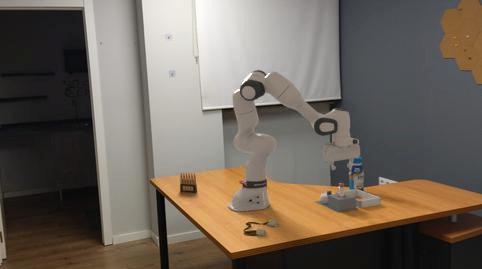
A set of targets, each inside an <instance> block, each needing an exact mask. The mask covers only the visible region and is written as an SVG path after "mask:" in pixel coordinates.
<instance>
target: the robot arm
mask: <svg viewBox="0 0 482 269" xmlns="http://www.w3.org/2000/svg"><path fill="white" fill-rule="evenodd" d="M265 94H269V95H271V96H272V97H273V98H274V99H275V100H276V101H277V102H279V103H280V104H282V105H283V106H285V107H286V108H289V109H293V110H294V111H297V112H298V113H299V114H300V115H301V116H302V117H304V118H305V120H307V121H308V122H309V124H310V127H311V129H312V130H313V131H314V132H315V134H317V135H319V136H322V137H323V136H324V137H325V136H330V135H331V142H326V143H325V144H324V145H322V161H323V162H325V163H329V165H330V167H331V170H332V171H335V170H337V167H336V166H335V165H334V164H335V162H338V161H345V160H349V161H348V163H347V164H346V167H347V168H348V169H349V168H350V167H352V163H353V161H354V158H359V157H361V147H360V140H359V139H358V138H354V137H351V132H350V129H351V117H350V112H349V111H348V110H347V109H343V108H333V109H332V110H331V111H329V112H328V113H326V114H325V113H323V112H318V111H317V110H316V109H315V108H313V107H312V105H310V104H309V103H307V101H305V98H304V97H303V95H302V93H301V92H300V89H299V88H297V86H295V84H294V83H292V81H290V80H289V79H288V78H287V77H286V76H284V75H282V74H281V73H279V72H277V71H272V72H271V71H270V72H269V73H266V72H265V71H263V70H260V69H257V70H254V71H251V72H250V73H249V74H248V75H247V76H246V77H245V78H244V81H243V82H242V83H241V84H240V87H239V89H236V91H234V93H232V106H233V110H234V114H235V118H236V121H237V127H238V131H237V133H236V135H235V136H234V138H233V147H234V148H235V149H236V150H237V151H240V152H242V153H247V154H251V159H250V160H249V161H247V162H246V164H245V165H244V177H245V179H244V180H242V179H240V180H239V181H238V184H239V185H242V187H240V188H239V189H238V190H237V191H236V192H234V193H233V194H232V199H231V202H229V203H228V204H227V208H228V209H230V210H232V211H234V212H238V213H239V212H240V213H241V212H250V211H257V210H258V211H259V210H260V211H261V210H266V209H267V207H269V206H270V205H271V204H270V201H269V196H268V190H267V189H268V179H267V163H268V159H269V157H270V156H271V155H272V154H273V153H274V152H275V150H276V148H277V141H276V138H275V137H274V136H272V135H269V134H267V133H259V132H258V133H257V132H256V131H255V128H256V127H257V125H258V124H259V122H260V117H259V115H258V111H257V107H256V104H255V101H257V100H258V99H259V98H261V97H264V96H265Z"/></svg>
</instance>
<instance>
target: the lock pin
mask: <svg viewBox="0 0 482 269" xmlns="http://www.w3.org/2000/svg"><path fill="white" fill-rule="evenodd" d="M338 185H339V186H338V192H339V197H344V191H345V183H343V182H339V183H338Z"/></svg>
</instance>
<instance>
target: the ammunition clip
mask: <svg viewBox="0 0 482 269" xmlns="http://www.w3.org/2000/svg"><path fill="white" fill-rule="evenodd" d="M179 175H180V179H179V182H180V184H179V192H180V193H193V194H197V193H198V184H197V179H196V174H195V173H187V172H186V173H185V172H183V173H182V172H180V174H179Z"/></svg>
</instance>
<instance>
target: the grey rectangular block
mask: <svg viewBox="0 0 482 269" xmlns="http://www.w3.org/2000/svg"><path fill="white" fill-rule="evenodd" d="M356 199H357V196H352V195H349V194H346V193H344V197H339V193H338V194H337V193H335V192H332V190H326V192H323V193H321V194H320V200H317V201H315V203H316V204H319V205H321V206H323V207H324V208H325V207H326V208H327V209H330V210H331V211H333V212H336V213H338V214H341V213H346V212H350V211H356V210H359V208H358V207H356Z"/></svg>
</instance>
